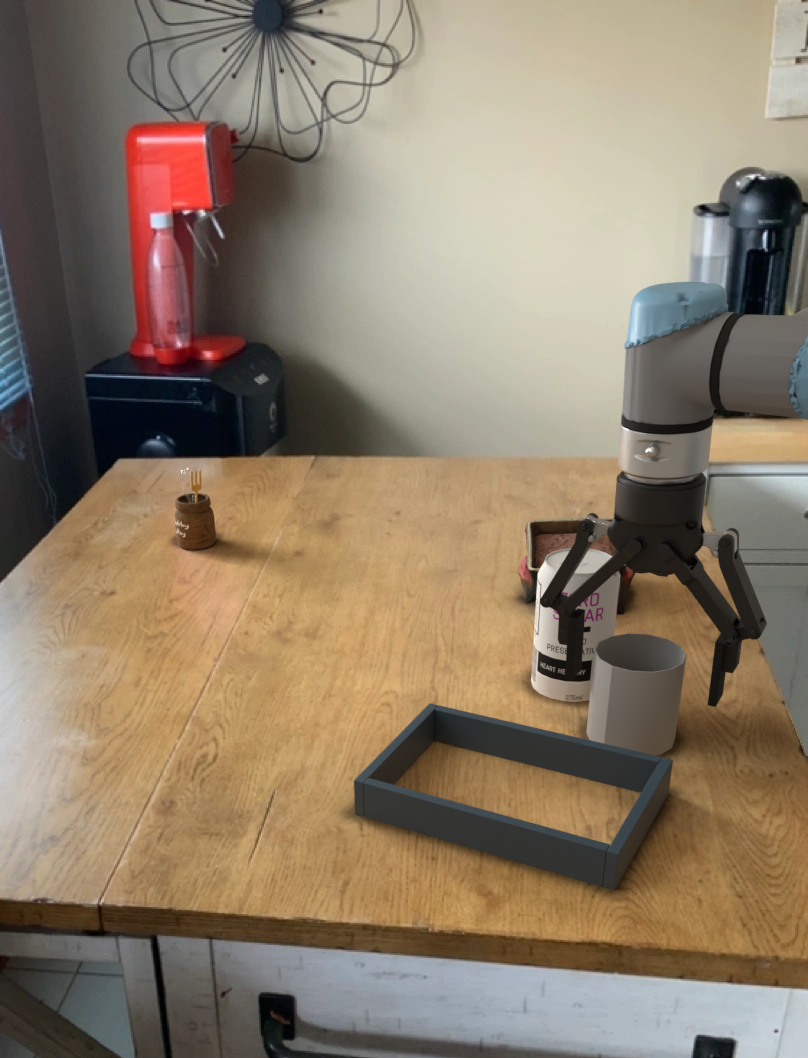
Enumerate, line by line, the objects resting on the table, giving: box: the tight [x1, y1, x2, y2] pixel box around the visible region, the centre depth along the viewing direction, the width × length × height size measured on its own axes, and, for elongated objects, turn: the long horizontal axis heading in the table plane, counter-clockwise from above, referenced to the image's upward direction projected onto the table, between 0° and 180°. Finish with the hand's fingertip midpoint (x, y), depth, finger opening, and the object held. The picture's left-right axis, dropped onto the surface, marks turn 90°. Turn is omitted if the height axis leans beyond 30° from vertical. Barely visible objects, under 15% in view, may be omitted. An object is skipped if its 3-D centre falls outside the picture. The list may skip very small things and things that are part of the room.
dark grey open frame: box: [353, 702, 674, 891], centre depth 103 cm, size 24×16×4 cm, turn 58°
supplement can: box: [530, 548, 621, 703], centre depth 119 cm, size 8×8×15 cm
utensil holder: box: [173, 467, 217, 551], centre depth 165 cm, size 6×6×12 cm
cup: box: [586, 632, 687, 756], centre depth 110 cm, size 8×8×10 cm
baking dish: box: [517, 517, 636, 615], centre depth 143 cm, size 14×18×10 cm
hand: (642, 687), depth 109 cm, fingers open, 13 cm apart
